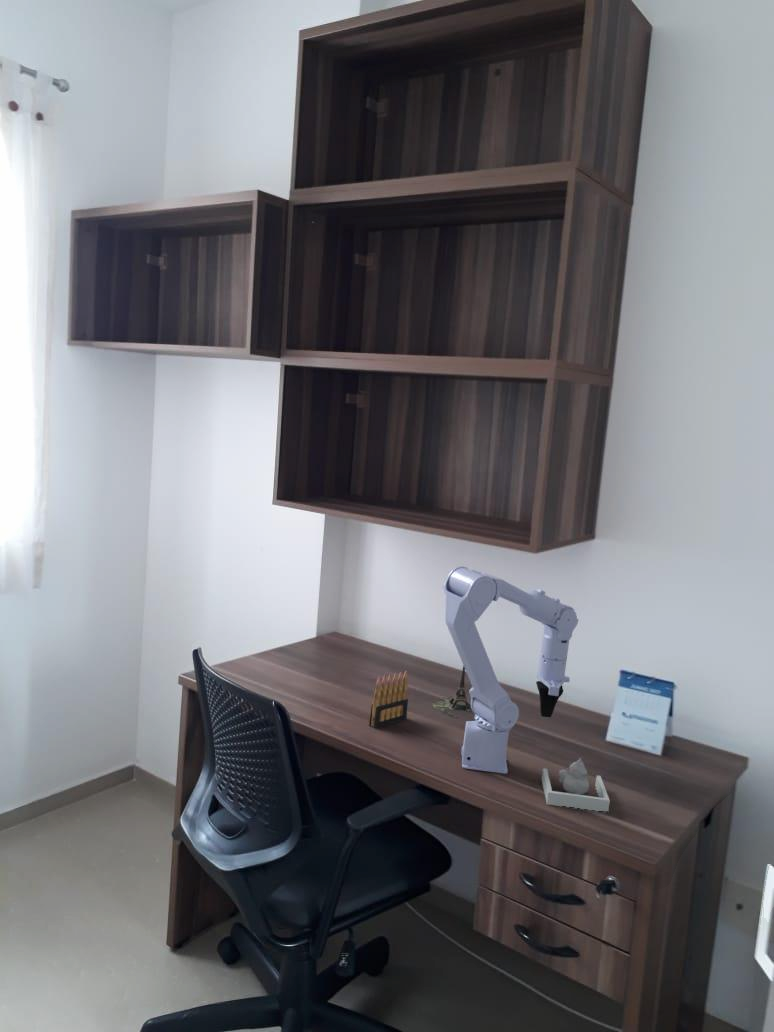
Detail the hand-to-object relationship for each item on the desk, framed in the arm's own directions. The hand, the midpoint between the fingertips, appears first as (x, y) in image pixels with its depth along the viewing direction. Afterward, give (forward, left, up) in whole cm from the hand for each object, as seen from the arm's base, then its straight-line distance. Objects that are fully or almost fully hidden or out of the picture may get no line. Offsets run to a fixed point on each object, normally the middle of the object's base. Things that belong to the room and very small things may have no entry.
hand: (545, 715), depth 179 cm
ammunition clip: (-35, +8, -10) cm, 37 cm away
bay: (+5, -17, -9) cm, 20 cm away
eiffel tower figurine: (-18, +25, -10) cm, 33 cm away
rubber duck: (+5, -16, -10) cm, 19 cm away
